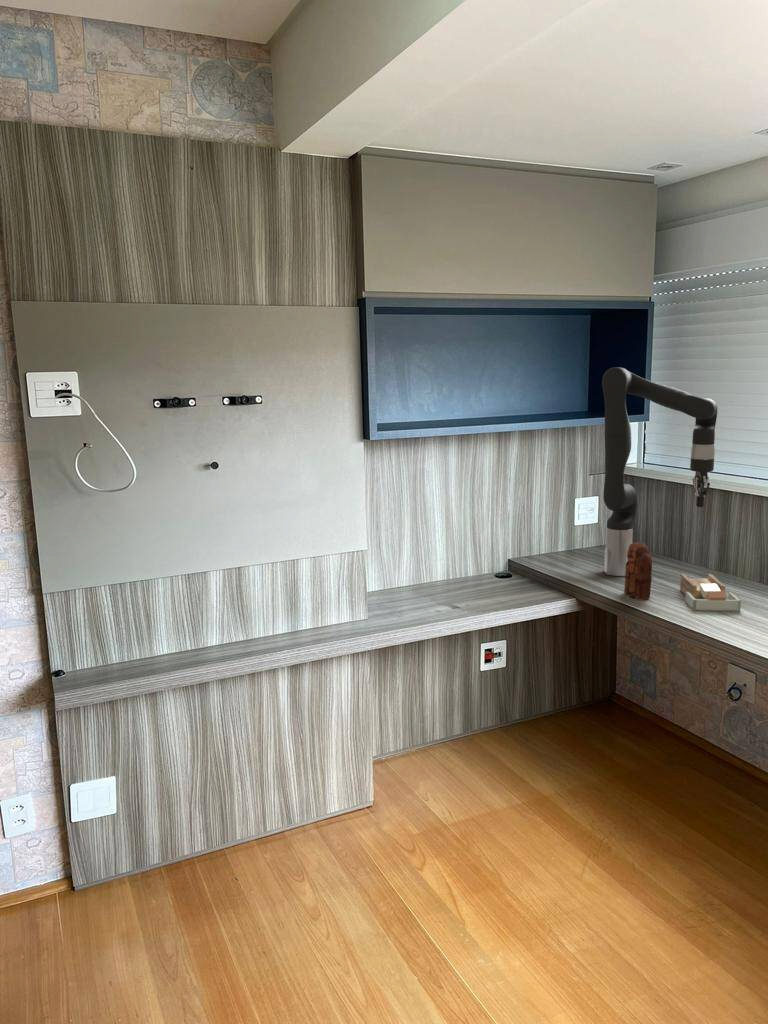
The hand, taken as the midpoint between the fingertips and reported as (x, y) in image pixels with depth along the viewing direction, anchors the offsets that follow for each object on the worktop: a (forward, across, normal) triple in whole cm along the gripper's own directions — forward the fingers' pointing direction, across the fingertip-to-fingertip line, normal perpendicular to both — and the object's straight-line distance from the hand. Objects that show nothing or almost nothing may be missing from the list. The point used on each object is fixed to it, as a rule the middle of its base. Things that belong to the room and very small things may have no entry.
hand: (699, 506), depth 268 cm
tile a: (+23, +28, -3) cm, 37 cm away
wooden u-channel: (+27, +18, -3) cm, 33 cm away
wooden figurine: (+27, +19, -24) cm, 41 cm away
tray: (+27, +30, -3) cm, 41 cm away
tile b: (+23, +31, -2) cm, 39 cm away
